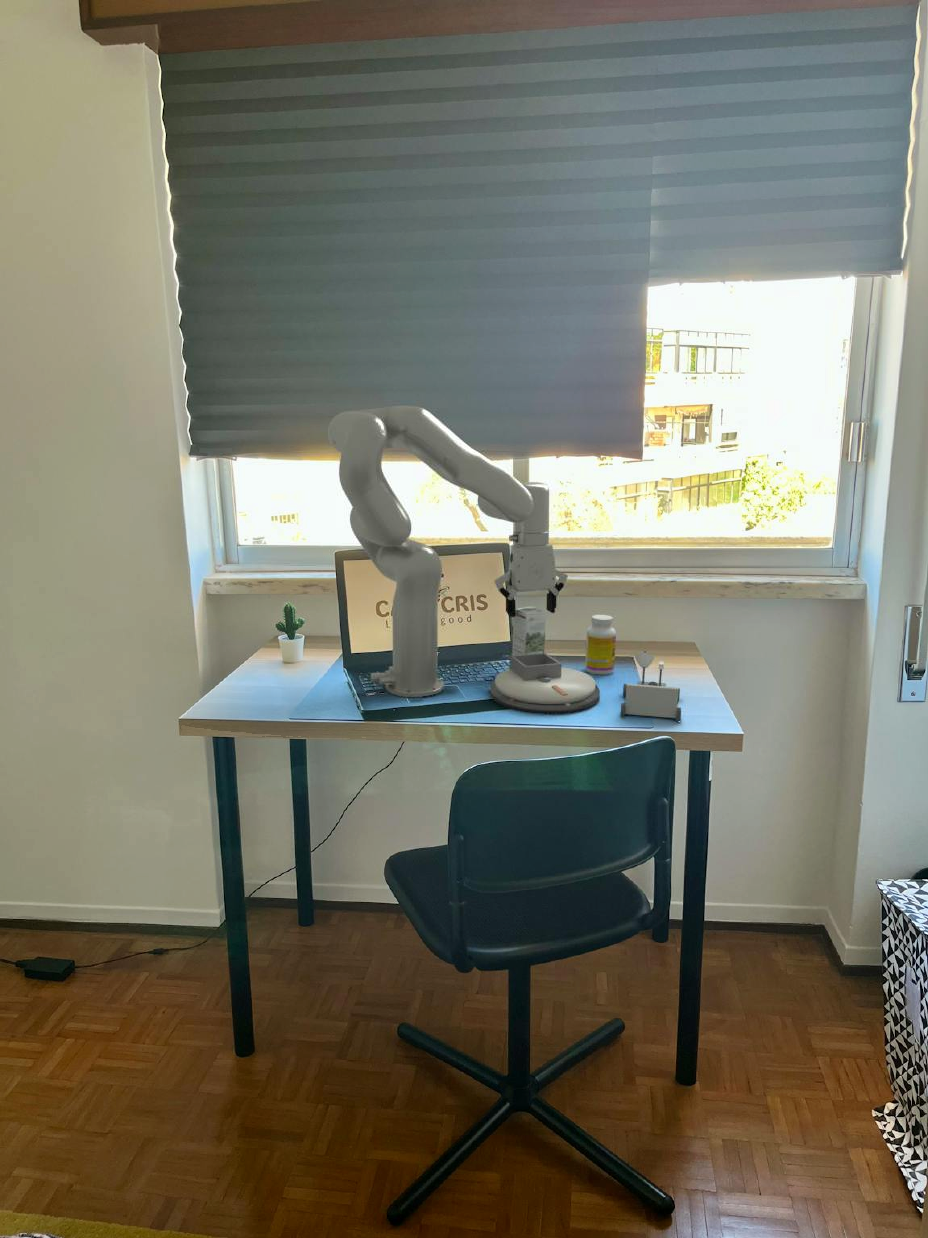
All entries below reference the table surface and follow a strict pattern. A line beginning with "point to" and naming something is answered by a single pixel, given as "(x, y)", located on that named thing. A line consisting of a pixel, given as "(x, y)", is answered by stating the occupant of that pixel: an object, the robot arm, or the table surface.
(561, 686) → the dial
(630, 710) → the toy vehicle
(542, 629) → the syrup box
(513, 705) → the base
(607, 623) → the supplement bottle
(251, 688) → the table surface
